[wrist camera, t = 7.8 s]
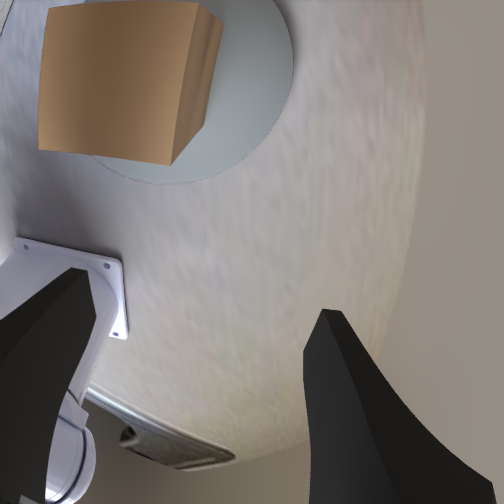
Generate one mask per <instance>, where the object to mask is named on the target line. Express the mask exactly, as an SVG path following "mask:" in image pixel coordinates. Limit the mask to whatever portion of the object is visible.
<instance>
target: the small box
mask: <svg viewBox="0 0 504 504" xmlns="http://www.w3.org/2000/svg"><path fill="white" fill-rule="evenodd" d="M12 1H13V0H0V34H1V31H2V28H3V25H4V22H5V20H6V17H7V14H8V12H9V9H10V6H11V4H12Z"/></svg>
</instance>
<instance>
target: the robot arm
mask: <svg viewBox="0 0 504 504" xmlns="http://www.w3.org/2000/svg"><path fill="white" fill-rule="evenodd" d="M13 247H14V251H13V252H12V254H11V255H10V256H9V257H8V258H7V259H6V260H5V261H4V263H3V264H2V265H1V266H0V504H73V503H74V502H76V501H77V500H79V499H80V498H81V497H82V496H83V494H84V493H85V492H86V490H87V488H88V486H89V484H90V482H91V479H92V477H93V474H94V469H95V463H96V451H95V445H94V439H93V436H92V434H91V432H90V431H89V430H88V429H87V428H86V427H85V424H86V421H87V418H88V415H89V414H88V413H87V412H86V411H84V410H83V409H82V408H81V404H82V402H83V399H84V396H85V394H86V391H87V388H88V386H89V383H90V381H91V378H92V375H93V373H94V370H95V368H96V365H97V363H98V360H99V358H100V356H101V353H102V351H103V348H104V346H105V344H106V341H107V339H108V337H109V336H111V337H115V338H119V339H127V337H128V327H127V318H126V308H125V297H124V286H123V272H122V264H121V262H120V261H119V260H118V259H115V258H111V257H106V256H101V255H96V254H92V253H87V252H82V251H78V250H73V249H69V248H64V247H60V246H55V245H51V244H46V243H42V242H37V241H33V240H29V239H24V238H20V237H16V238H15V239H14V240H13ZM106 263H108V264H109V265H110V266H109V265H107V264H106ZM303 382H304V391H305V399H306V408H307V416H308V425H309V434H310V444H311V478H310V496H309V504H497V503H496V498H495V493H494V489H493V485H492V482H490V481H489V480H487V479H486V478H485V477H483V476H482V475H480V474H479V473H477V472H476V471H474V470H473V469H472V468H470V467H468V466H467V465H466V464H465V463H464V462H462V461H461V460H460V459H459V458H458V457H456V456H455V455H454V454H452V453H451V452H450V451H449V450H448V449H447V448H446V447H445V446H444V445H443V444H442V443H440V442H439V441H438V440H437V439H436V438H435V437H434V436H433V435H432V434H431V433H430V432H429V431H428V430H427V429H426V428H425V427H424V426H423V424H422V423H421V422H420V421H419V420H418V419H417V418H416V417H415V415H414V414H413V413H412V412H411V411H410V410H409V409H408V407H407V406H406V405H405V404H404V403H403V401H402V400H401V399H400V398H399V396H398V395H397V394H396V392H395V391H394V390H393V388H392V387H391V386H390V384H389V383H388V381H387V380H386V379H385V377H384V376H383V374H382V373H381V372H380V370H379V369H378V367H377V366H376V364H375V363H374V361H373V360H372V358H371V357H370V355H369V354H368V352H367V351H366V349H365V348H364V346H363V344H362V343H361V341H360V340H359V338H358V337H357V335H356V333H355V332H354V330H353V329H352V327H351V325H350V324H349V322H348V321H347V319H346V318H345V316H344V315H343V313H342V312H341V311H338V310H330V309H322V311H321V313H320V315H319V317H318V320H317V322H316V324H315V327H314V329H313V331H312V333H311V336H310V338H309V340H308V342H307V344H306V346H305V349H304V351H303Z"/></svg>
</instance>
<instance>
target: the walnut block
mask: <svg viewBox="0 0 504 504" xmlns="http://www.w3.org/2000/svg"><path fill="white" fill-rule="evenodd" d="M223 28H224V24H223V23H222V22H221V21H219V20H218V19H217V18H216V17H215V16H214V15H212V14H211V13H210V12H209V11H208V10H207V9H205V8H204V7H203V6H202V5H201V4H199V3H192V2H177V1H110V2H96V3H85V4H76V5H68V6H61V7H54V8H49V10H48V16H47V21H46V28H45V34H44V41H43V49H42V58H41V69H40V83H39V103H38V146H39V150H50V151H60V152H69V153H79V154H87V155H96V156H103V157H111V158H119V159H126V160H133V161H140V162H146V163H153V164H159V165H165V166H171V165H172V164H173V162H174V161H175V160H176V159H177V157H178V156H179V155H180V154H181V152H182V151H183V150H184V149H185V147H186V146H187V145H188V144H189V143H190V141H191V140H192V139H193V138H194V136H195V135H196V134H197V133H198V132H199V131H200V129H201V128H202V127H203V126H204V122H205V117H206V111H207V106H208V100H209V95H210V90H211V85H212V80H213V75H214V70H215V65H216V60H217V55H218V51H219V46H220V42H221V37H222V33H223Z"/></svg>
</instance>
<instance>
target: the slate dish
mask: <svg viewBox="0 0 504 504" xmlns="http://www.w3.org/2000/svg"><path fill="white" fill-rule="evenodd" d="M110 1H177V2H192V3H199V4H201V5H202V6H203V7H204V8H205V9H207V10H208V11H209V12H210V13H211V14H212V15H214V16H215V17H216V18H217V19H218V20H219V21H221V22H222V23H223V24H224V28H223V33H222V37H221V42H220V46H219V51H218V55H217V60H216V65H215V70H214V75H213V80H212V85H211V90H210V95H209V100H208V106H207V111H206V117H205V122H204V126H203V127H202V128H201V129H200V131H199V132H198V133H197V134H196V135H195V136H194V138H193V139H192V140H191V141H190V143H189V144H188V145H187V146H186V147H185V149H184V150H183V151H182V152H181V154H180V155H179V156H178V157H177V159H176V160H175V161H174V162H173V164H172V165H171V166H165V165H159V164H153V163H146V162H140V161H133V160H126V159H119V158H111V157H103V156H96V155H91V156H92V157H93V158H94V159H95V160H97V161H98V162H99V163H100V164H102V165H104V166H105V167H107V168H108V169H110V170H111V171H113V172H116V173H118V174H120V175H122V176H124V177H127V178H130V179H133V180H136V181H140V182H145V183H150V184H161V185H173V184H184V183H190V182H195V181H199V180H202V179H206V178H209V177H211V176H214V175H216V174H219V173H221V172H223V171H225V170H227V169H228V168H230V167H232V166H234V165H236V164H237V163H238V162H240V161H241V160H242V159H244V158H245V157H247V156H248V155H249V154H250V153H251V152H252V151H253V150H254V149H255V148H256V147H258V146H259V145H260V143H261V142H262V141H263V140H264V139H265V137H266V136H267V135H268V134H269V133H270V131H271V130H272V128H273V126H274V125H275V123H276V122H277V120H278V119H279V116H280V114H281V112H282V110H283V108H284V106H285V103H286V100H287V97H288V94H289V91H290V86H291V80H292V74H293V53H292V45H291V39H290V36H289V32H288V29H287V25H286V23H285V21H284V19H283V17H282V14H281V12H280V10H279V9H278V7H277V6H276V4H275V3H274V1H273V0H86V1H85V2H84V4H85V3H96V2H110Z"/></svg>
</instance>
